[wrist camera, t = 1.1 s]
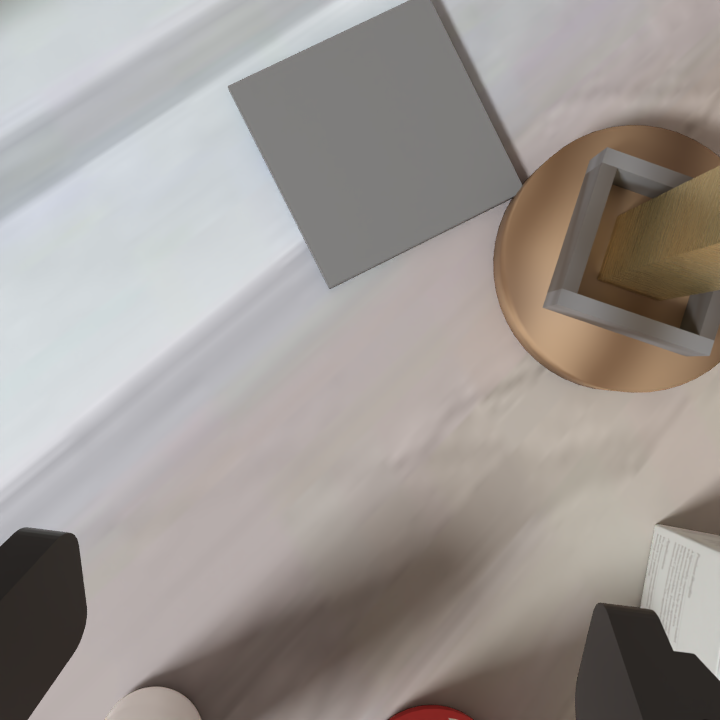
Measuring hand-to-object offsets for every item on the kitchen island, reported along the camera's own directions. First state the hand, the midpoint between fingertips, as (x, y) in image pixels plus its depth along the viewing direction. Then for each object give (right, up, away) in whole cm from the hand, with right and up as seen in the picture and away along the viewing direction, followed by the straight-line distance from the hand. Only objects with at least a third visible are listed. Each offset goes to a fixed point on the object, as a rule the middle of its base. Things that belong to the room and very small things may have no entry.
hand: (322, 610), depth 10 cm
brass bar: (+15, +9, +23) cm, 29 cm away
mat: (+2, +16, +25) cm, 30 cm away
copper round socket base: (+15, +9, +26) cm, 31 cm away
